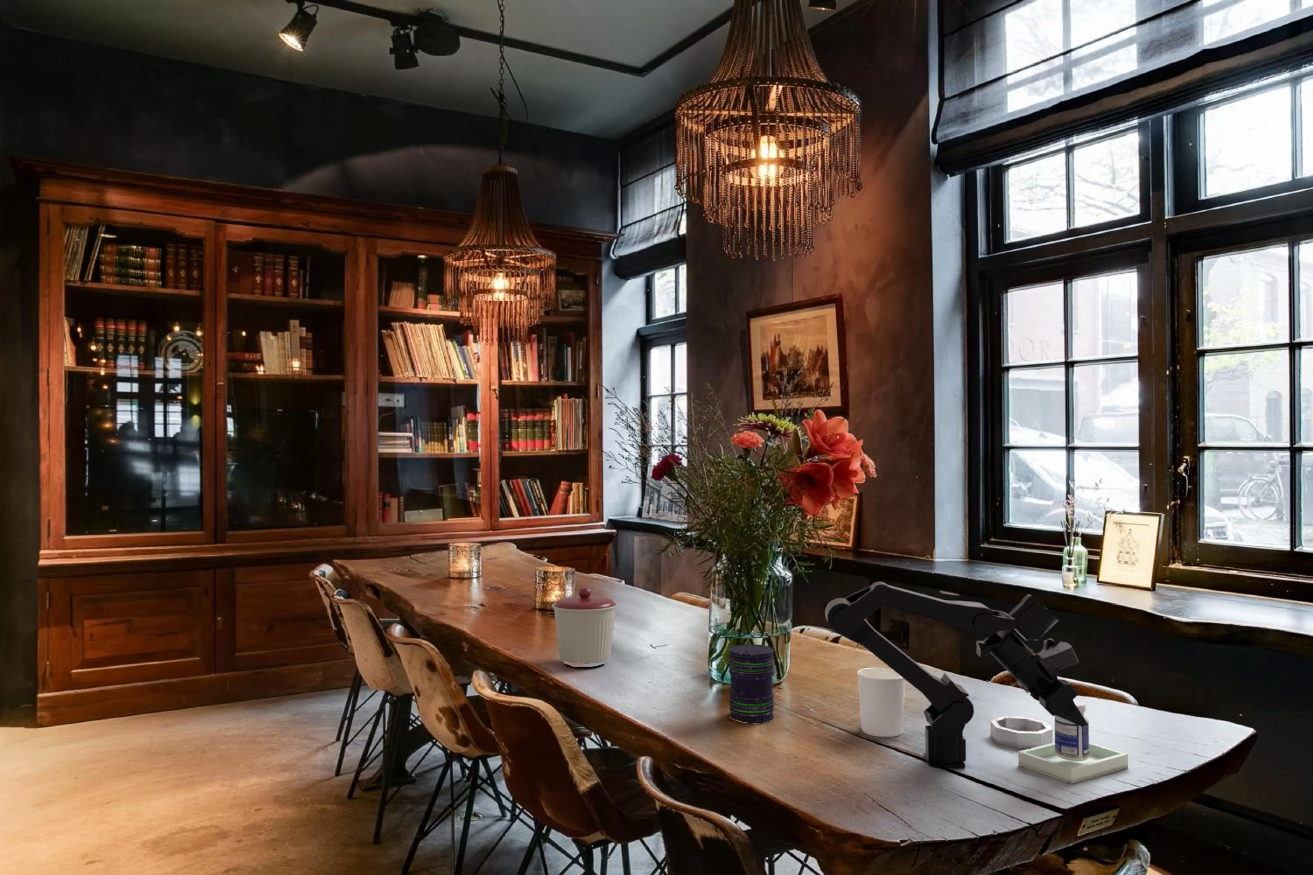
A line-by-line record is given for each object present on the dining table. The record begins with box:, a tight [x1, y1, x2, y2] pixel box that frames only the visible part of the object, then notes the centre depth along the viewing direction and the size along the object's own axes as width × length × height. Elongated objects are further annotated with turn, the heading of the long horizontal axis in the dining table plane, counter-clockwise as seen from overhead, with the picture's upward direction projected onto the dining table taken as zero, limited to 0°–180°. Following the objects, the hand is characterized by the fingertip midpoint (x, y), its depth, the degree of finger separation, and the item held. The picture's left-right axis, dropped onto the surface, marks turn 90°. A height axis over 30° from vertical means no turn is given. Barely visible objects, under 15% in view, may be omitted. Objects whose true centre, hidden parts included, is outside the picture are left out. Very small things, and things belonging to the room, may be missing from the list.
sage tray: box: [1017, 741, 1129, 785], centre depth 165 cm, size 16×11×2 cm
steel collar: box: [989, 716, 1054, 749], centre depth 181 cm, size 11×11×3 cm
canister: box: [551, 586, 619, 664], centre depth 247 cm, size 18×18×21 cm
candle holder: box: [856, 667, 906, 738], centre depth 187 cm, size 10×10×12 cm
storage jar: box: [728, 643, 775, 724], centre depth 197 cm, size 10×10×15 cm
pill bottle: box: [1054, 699, 1090, 761], centre depth 165 cm, size 6×6×10 cm
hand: (1079, 720), depth 165 cm, fingers closed on pill bottle, 5 cm apart
